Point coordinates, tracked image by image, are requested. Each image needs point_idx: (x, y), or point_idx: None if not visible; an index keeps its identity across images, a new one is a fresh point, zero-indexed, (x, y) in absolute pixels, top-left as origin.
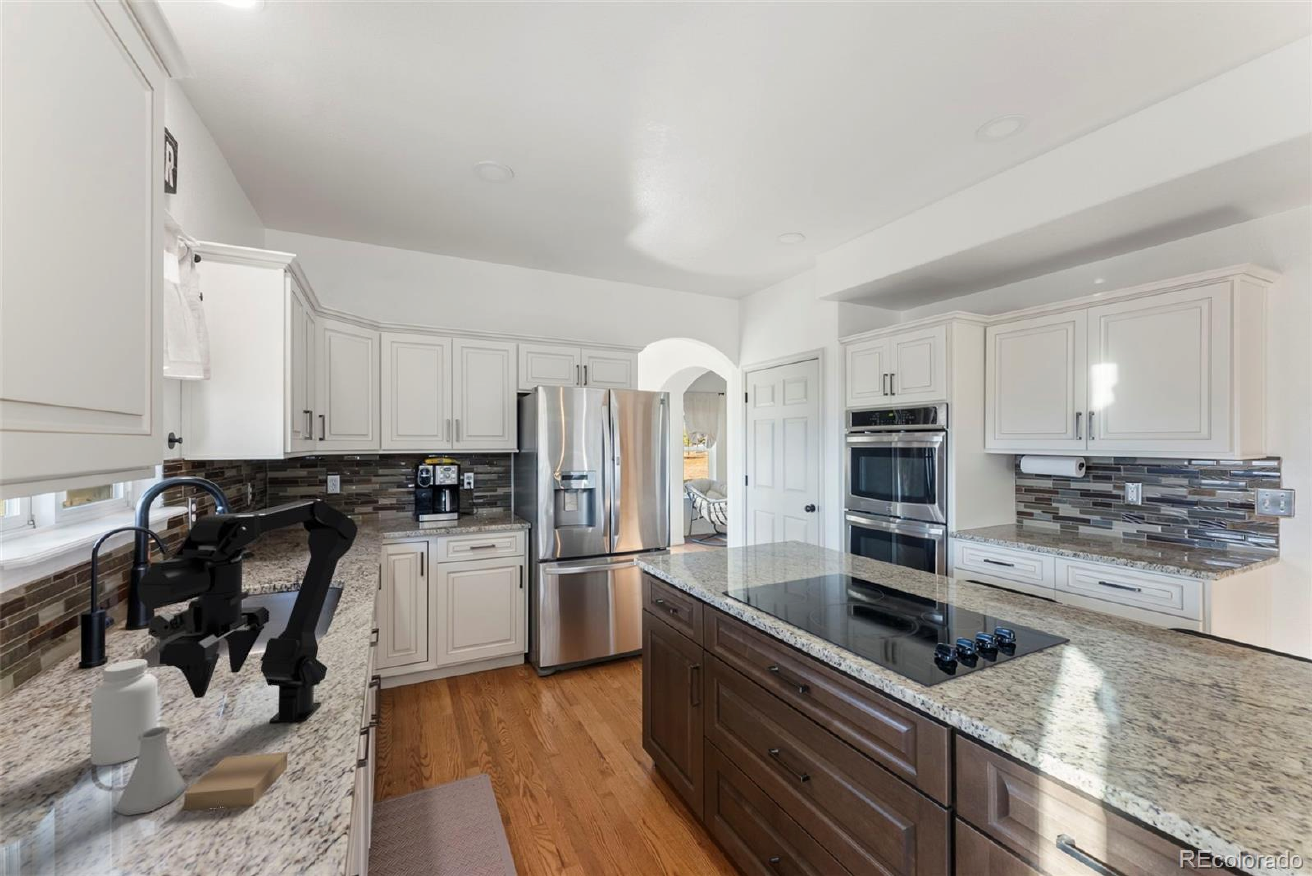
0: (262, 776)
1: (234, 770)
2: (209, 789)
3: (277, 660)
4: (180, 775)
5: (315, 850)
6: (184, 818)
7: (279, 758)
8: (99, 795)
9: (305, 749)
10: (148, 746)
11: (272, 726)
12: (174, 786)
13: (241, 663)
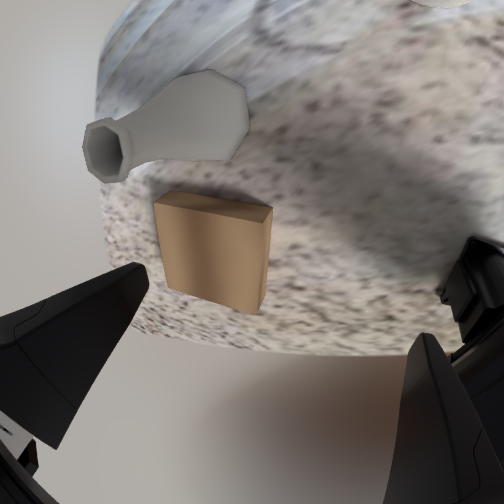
0: (191, 293)
1: (210, 253)
2: (162, 234)
3: (479, 400)
4: (212, 158)
5: (133, 321)
6: (158, 198)
7: (237, 307)
8: (238, 5)
9: (320, 311)
10: (106, 147)
11: (454, 243)
12: (191, 160)
13: (401, 401)
